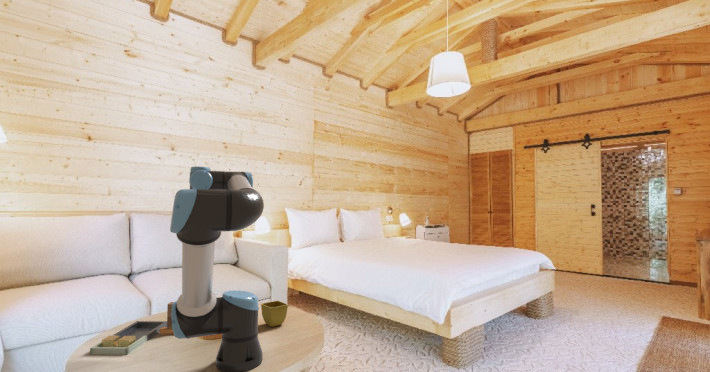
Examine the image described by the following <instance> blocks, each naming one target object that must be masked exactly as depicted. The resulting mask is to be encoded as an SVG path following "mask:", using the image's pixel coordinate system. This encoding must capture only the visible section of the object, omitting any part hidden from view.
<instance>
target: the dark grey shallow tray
mask: <svg viewBox="0 0 710 372" xmlns="http://www.w3.org/2000/svg"><path fill="white" fill-rule="evenodd" d="M162 327H167V320H166V321H165V320H161V321H160V320H157V321H156V320H155V321H153V320H152V321H151V320H145V321H144V320H137V321H134V322H133V323H131V324H130V325H128V326H126V327H124V328H122V329H121V330H119V331H117V332H115V333H114V334H113V335H115V336H120V338H122V337H124V336H136V340H135V341H137V340H138V339H140V338H141V337H143V336H147V341H146V342H148V341H149V340H150V339H152V338H153V337H155V336H156V335H159V329H161V328H162Z"/></svg>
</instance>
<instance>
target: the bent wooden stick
mask: <svg viewBox="0 0 710 372" xmlns="http://www.w3.org/2000/svg"><path fill="white" fill-rule="evenodd" d="M174 302H175V301H174ZM174 302H173V301H170V302H168V303H167V308H166V309H167V312H166V314H167V317H166V321H167V327H162V328H161V329H159V333H158V335H174V333H173V328H172V317H171V312H172V304H173V303H174ZM174 336H175V335H174Z"/></svg>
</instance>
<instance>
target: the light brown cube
mask: <svg viewBox="0 0 710 372" xmlns="http://www.w3.org/2000/svg"><path fill="white" fill-rule="evenodd" d="M135 340H136V336H124V337H122V338H120V339H119V340H118V347H128V346H129V345H131V344H132V343H134V342H135Z"/></svg>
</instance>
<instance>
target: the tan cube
mask: <svg viewBox="0 0 710 372" xmlns="http://www.w3.org/2000/svg"><path fill="white" fill-rule="evenodd" d="M119 339H120V336H112V335H109V336H106V337H105V338H102V339H101V342H102V347H118V340H119Z"/></svg>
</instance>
